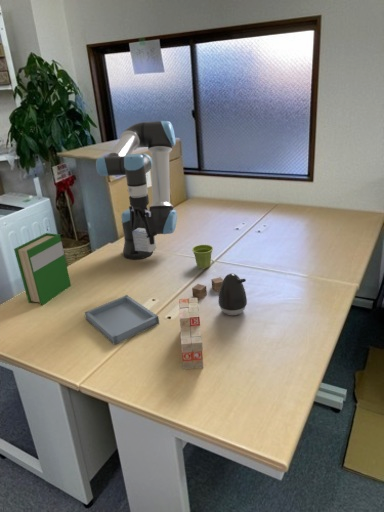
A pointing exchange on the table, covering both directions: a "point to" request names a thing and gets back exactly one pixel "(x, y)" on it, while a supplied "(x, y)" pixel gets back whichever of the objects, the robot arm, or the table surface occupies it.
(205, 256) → the plant pot
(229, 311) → the pump dispenser
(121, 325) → the tray
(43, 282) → the hardback book
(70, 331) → the table surface
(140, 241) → the medicine box
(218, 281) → the walnut block
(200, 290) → the walnut block
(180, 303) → the stack of blocks
